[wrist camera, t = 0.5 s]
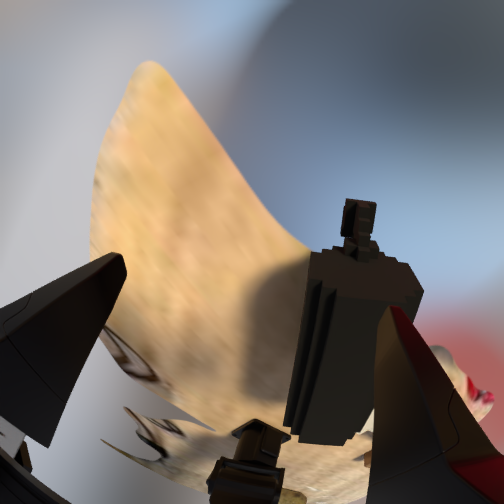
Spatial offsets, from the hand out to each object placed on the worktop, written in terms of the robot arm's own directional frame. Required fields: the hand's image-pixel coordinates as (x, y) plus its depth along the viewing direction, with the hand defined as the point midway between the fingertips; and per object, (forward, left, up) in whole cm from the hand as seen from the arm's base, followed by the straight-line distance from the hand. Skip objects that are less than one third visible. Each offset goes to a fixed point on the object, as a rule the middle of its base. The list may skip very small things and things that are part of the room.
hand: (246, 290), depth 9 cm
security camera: (-5, -9, -15) cm, 19 cm away
